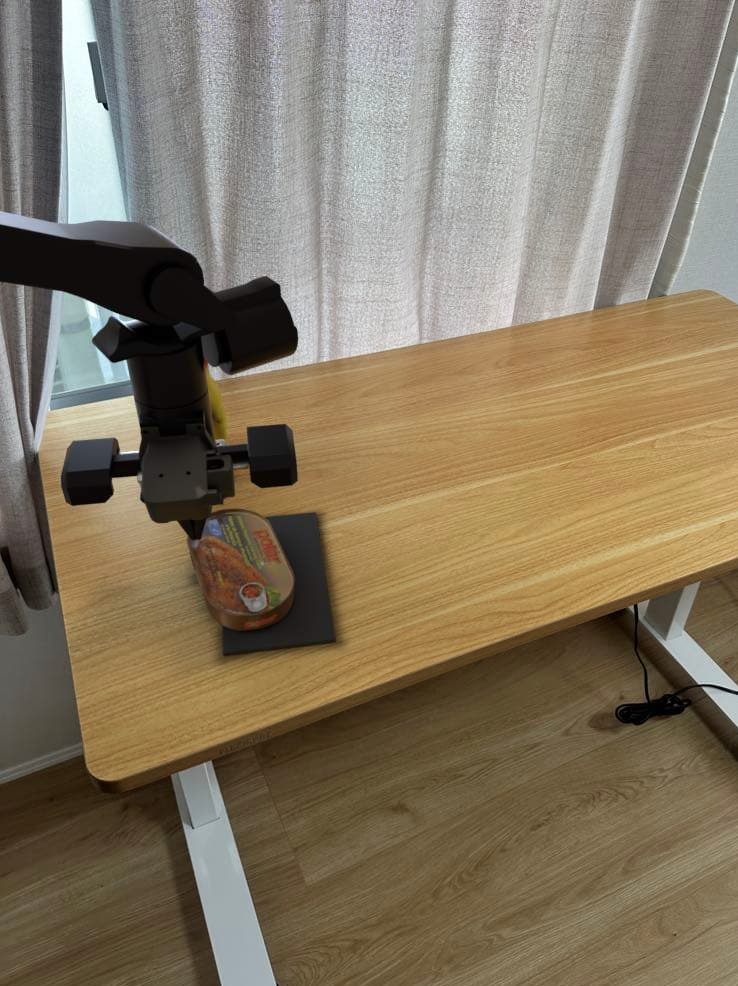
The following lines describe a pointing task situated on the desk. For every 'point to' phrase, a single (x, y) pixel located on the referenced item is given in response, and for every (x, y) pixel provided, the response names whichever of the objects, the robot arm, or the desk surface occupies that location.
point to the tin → (242, 570)
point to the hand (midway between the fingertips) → (196, 537)
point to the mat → (311, 596)
